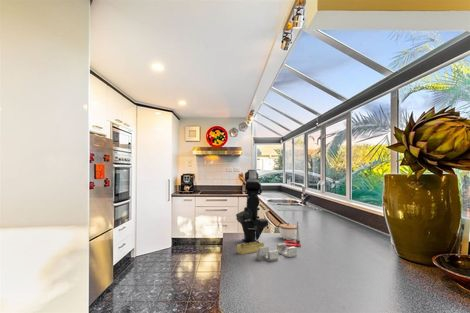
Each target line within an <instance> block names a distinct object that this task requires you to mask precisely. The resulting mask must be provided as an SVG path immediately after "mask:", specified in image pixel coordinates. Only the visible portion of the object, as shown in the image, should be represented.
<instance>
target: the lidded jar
mask: <svg viewBox="0 0 470 313" xmlns="http://www.w3.org/2000/svg"><path fill="white" fill-rule="evenodd" d="M278 227H279V231H278V232H279V234H280V236H281V238H282V239H283V240H285V239H286V240H285V241H293V240H294V238H296V236H297V225H295V224H290V223H289V222H287V223H282V224H279V225H278Z"/></svg>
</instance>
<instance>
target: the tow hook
mask: <svg viewBox="0 0 470 313" xmlns="http://www.w3.org/2000/svg"><path fill="white" fill-rule="evenodd" d="M296 226H297V233H296V236H295V238H296V240H295V241H293V240H285V241H283V242H282V243H286V247H293V246H294V247H301V246H302V245H301V240H300V230H299V229H300V228H299V227H300V226H299V221H296Z"/></svg>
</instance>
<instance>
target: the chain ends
mask: <svg viewBox="0 0 470 313" xmlns="http://www.w3.org/2000/svg"><path fill="white" fill-rule="evenodd" d="M286 244H287V243H283V242H282V243H276V249H273V250H269V248H270V247H269V246H268V245H264V247H258V252H257V253H256V260H258V261H259V262H263V261H267V262H269V263H270V262H276V261H279V255H282V256H285V257H286V258H292V257H297V251H298V250H297V246H293V247H291V246H286Z"/></svg>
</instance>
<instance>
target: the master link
mask: <svg viewBox="0 0 470 313" xmlns="http://www.w3.org/2000/svg"><path fill="white" fill-rule="evenodd" d="M264 246H265V242H264V241H261V240H257V241H256V242H250V243H248V242H241V243H239V244H238V243H237V246H236V253H237V254H240V255H245V254H251V253H256V252H257V251H258V247H264ZM257 253H258V252H257Z"/></svg>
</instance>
